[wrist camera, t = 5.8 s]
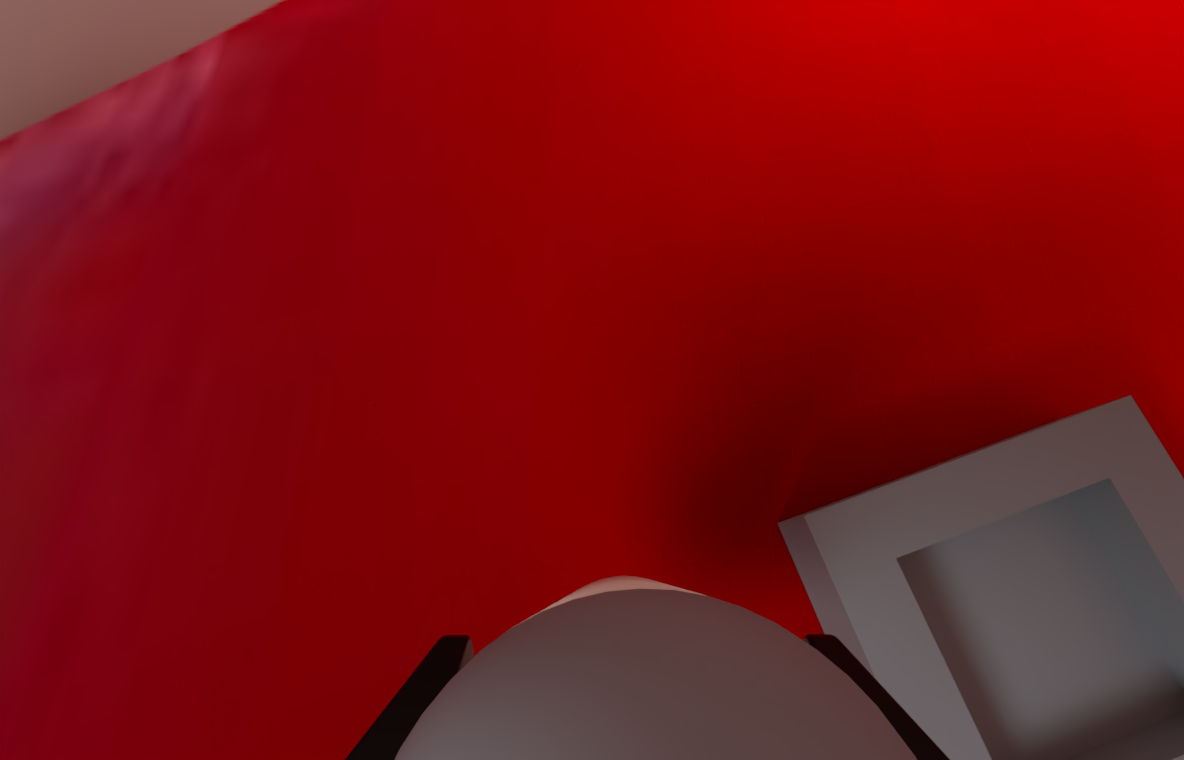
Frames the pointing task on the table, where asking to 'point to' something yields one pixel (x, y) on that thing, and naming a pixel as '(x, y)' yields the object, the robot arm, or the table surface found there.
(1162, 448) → the jig
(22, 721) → the table surface
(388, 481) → the table surface
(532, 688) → the grey round-top peg
